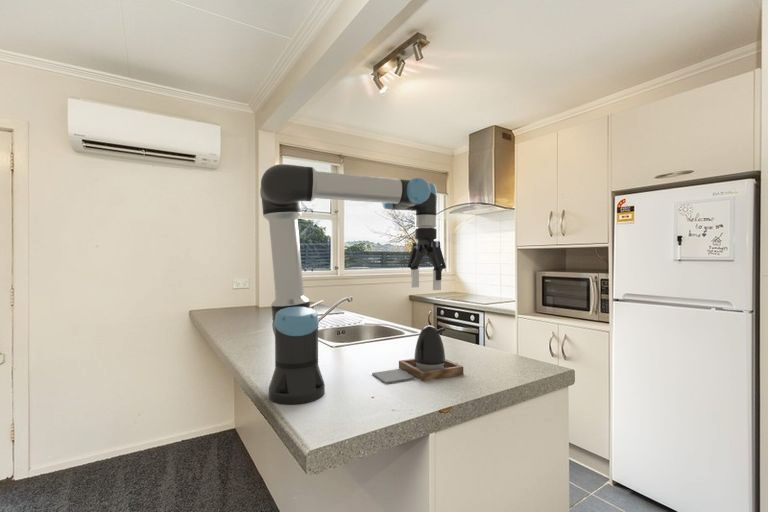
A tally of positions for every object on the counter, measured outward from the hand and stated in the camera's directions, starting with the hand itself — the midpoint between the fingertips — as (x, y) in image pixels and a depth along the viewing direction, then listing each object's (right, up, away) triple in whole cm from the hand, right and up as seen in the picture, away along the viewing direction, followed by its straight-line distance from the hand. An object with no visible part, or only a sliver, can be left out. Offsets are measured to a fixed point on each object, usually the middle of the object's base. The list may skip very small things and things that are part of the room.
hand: (425, 288), depth 130 cm
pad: (-12, -27, -13) cm, 32 cm away
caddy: (+1, -27, -7) cm, 28 cm away
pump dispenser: (+1, -27, -7) cm, 28 cm away
